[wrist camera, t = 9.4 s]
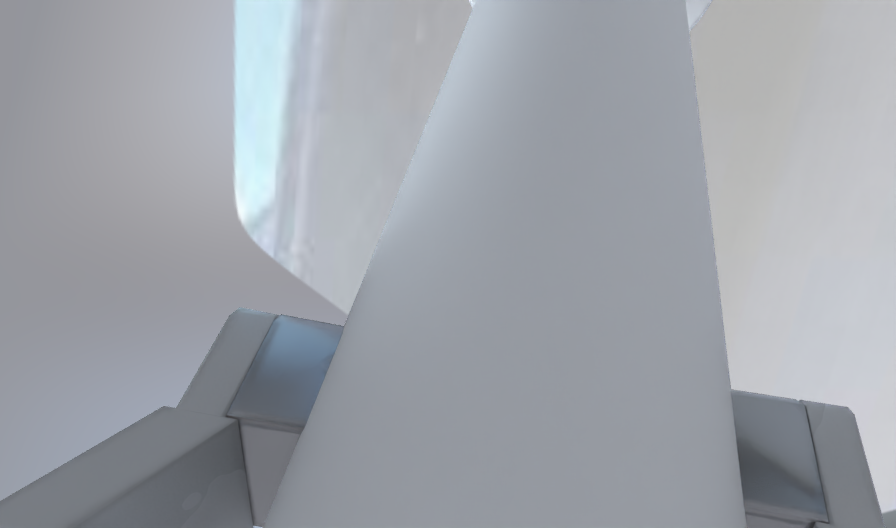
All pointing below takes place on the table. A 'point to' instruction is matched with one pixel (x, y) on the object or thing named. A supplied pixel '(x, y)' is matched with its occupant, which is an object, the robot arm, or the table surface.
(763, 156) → the table surface
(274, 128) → the table surface
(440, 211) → the candle
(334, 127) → the table surface
